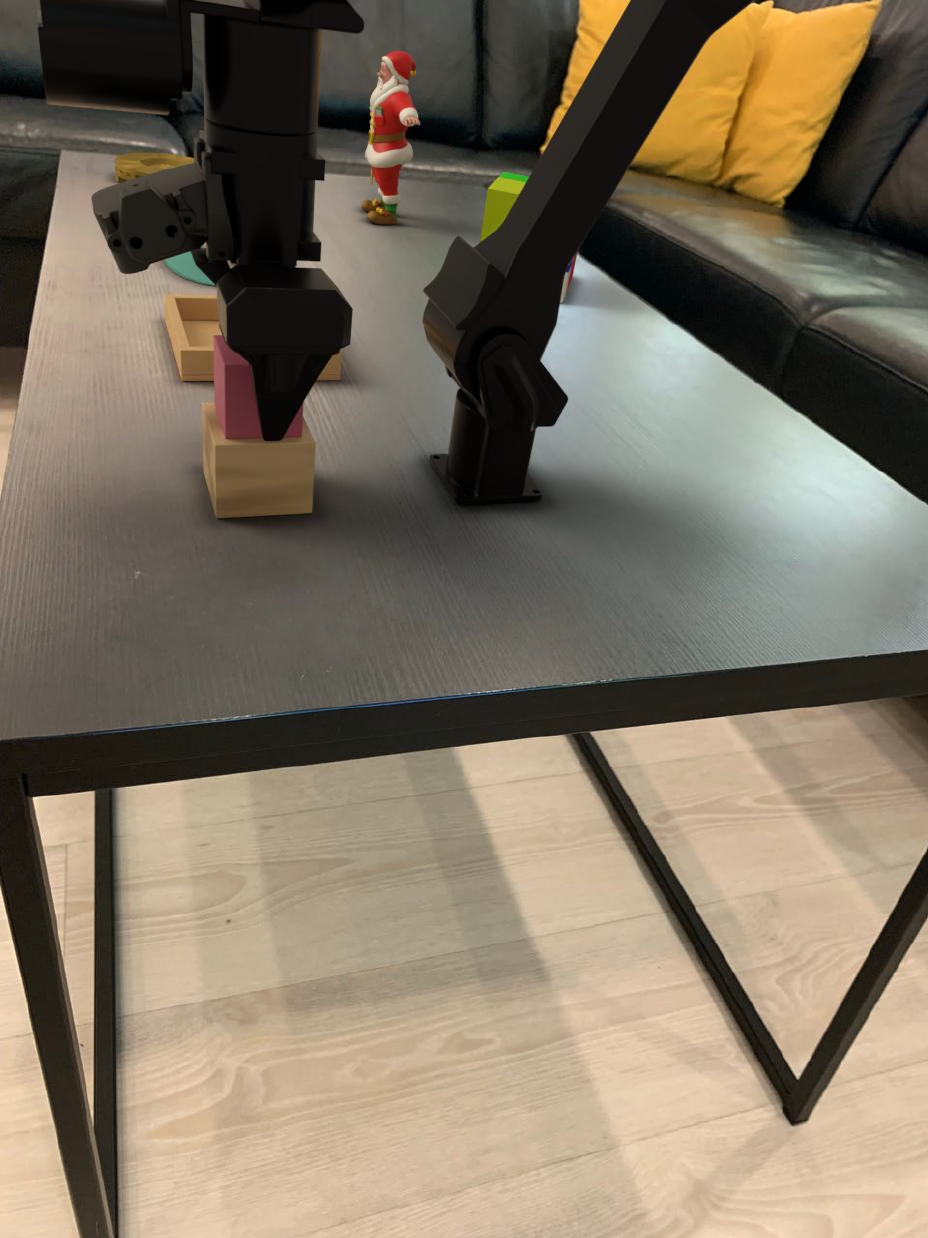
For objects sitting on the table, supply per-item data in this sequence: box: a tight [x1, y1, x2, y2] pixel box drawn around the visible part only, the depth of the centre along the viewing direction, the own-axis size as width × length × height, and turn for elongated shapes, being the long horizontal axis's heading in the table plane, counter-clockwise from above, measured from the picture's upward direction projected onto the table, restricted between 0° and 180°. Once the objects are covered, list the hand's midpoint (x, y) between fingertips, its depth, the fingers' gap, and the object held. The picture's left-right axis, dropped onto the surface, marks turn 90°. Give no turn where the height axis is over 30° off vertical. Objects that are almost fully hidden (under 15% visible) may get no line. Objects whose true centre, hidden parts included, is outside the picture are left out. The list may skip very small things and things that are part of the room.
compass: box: [114, 152, 194, 183], centre depth 119 cm, size 12×12×2 cm
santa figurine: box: [361, 50, 421, 226], centre depth 116 cm, size 25×6×19 cm, turn 12°
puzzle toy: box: [479, 171, 579, 304], centre depth 104 cm, size 10×10×10 cm
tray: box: [163, 293, 343, 382], centre depth 79 cm, size 13×13×2 cm
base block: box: [201, 401, 317, 519], centre depth 59 cm, size 6×6×5 cm
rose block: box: [213, 335, 304, 439], centre depth 56 cm, size 5×5×5 cm
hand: (258, 405), depth 57 cm, fingers open, 9 cm apart
